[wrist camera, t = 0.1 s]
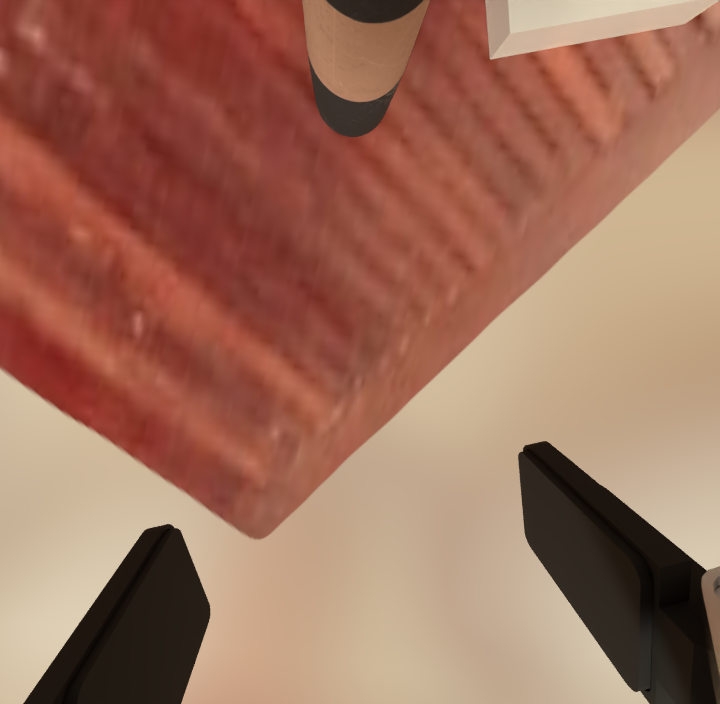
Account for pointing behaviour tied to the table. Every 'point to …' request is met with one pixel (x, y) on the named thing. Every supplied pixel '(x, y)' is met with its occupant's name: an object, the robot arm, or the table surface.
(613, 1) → the housing
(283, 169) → the table surface
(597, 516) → the robot arm
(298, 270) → the table surface
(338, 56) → the travel mug
